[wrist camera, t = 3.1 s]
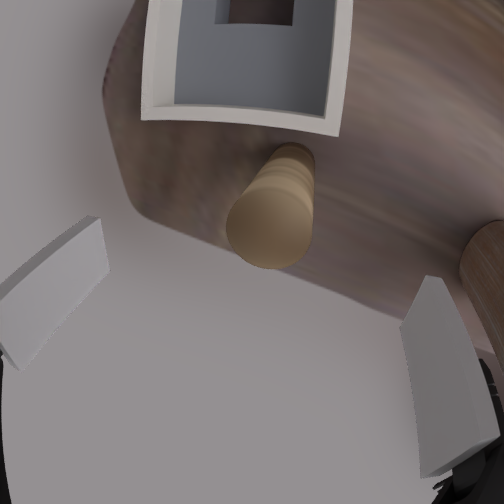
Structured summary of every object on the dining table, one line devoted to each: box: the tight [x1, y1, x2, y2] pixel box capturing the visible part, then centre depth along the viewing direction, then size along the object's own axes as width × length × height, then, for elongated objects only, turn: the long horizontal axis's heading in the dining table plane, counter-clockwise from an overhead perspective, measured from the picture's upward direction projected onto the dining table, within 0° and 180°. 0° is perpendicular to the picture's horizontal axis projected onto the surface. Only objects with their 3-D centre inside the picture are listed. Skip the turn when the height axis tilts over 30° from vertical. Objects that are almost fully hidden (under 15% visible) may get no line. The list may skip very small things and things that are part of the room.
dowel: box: [226, 143, 315, 269], centre depth 19 cm, size 4×4×14 cm
